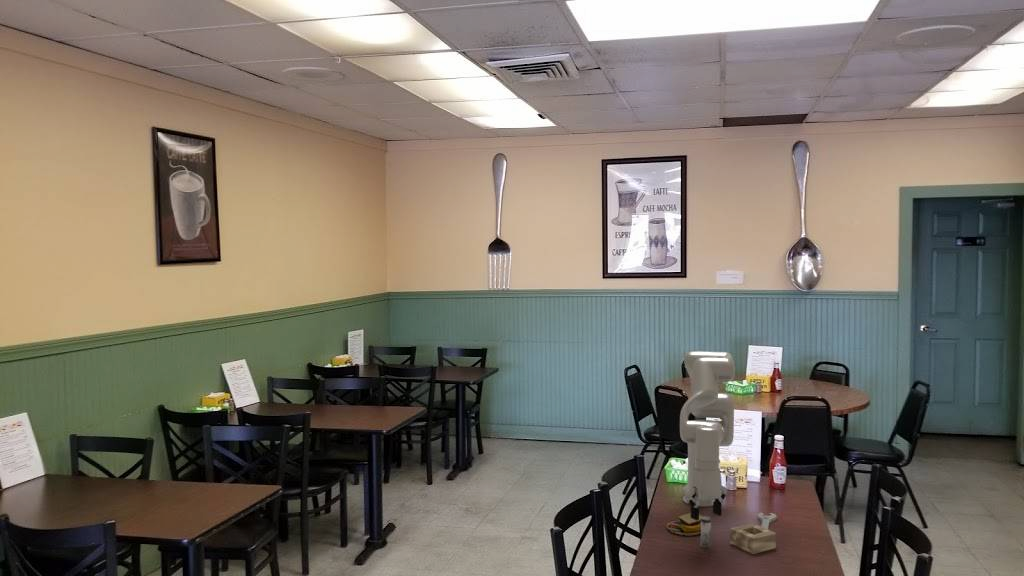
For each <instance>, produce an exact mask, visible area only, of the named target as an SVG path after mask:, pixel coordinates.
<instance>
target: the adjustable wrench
mask: <svg viewBox="0 0 1024 576" xmlns="http://www.w3.org/2000/svg"><path fill="white" fill-rule="evenodd" d="M777 519H778V517H777V515H776V514H775V513H772V512H769V515H765V514H764V513H763V512H759V513H758V514H757V515H756V520H758V521H760V522H761V525H760V527H763V528H765V529H767V530H769V527H770V524H772V523H773V522H775V521H777Z"/></svg>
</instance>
